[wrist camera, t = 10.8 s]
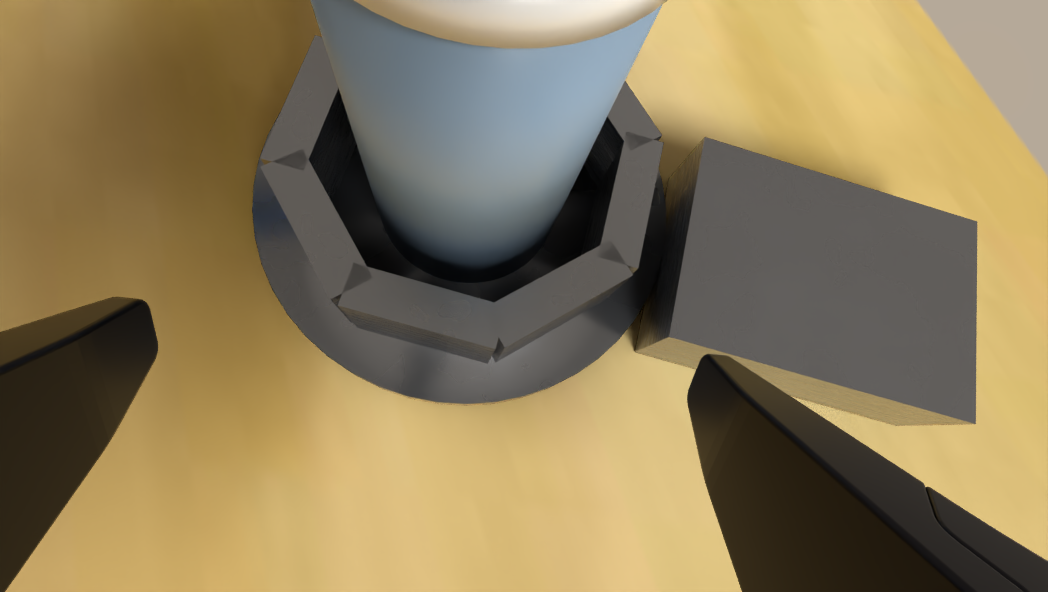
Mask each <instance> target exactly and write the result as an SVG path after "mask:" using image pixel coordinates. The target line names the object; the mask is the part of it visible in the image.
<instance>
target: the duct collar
mask: <svg viewBox="0 0 1048 592" xmlns="http://www.w3.org/2000/svg"><path fill="white" fill-rule="evenodd" d="M661 136H662V135H661V133H660V132H659V130H658V129H657V127H656V126H655V124H654V123H653V121H652V120H651V118H650V117H649V115H648V114H647V112H646V111H645V109H644V108H643V107H642V105H641V104H640V102H639V101H638V99H637V98H636V96H635V95H634V93H633V92H632V90H631V89H630V87H629V86H628V84H627V83H626V81H624V83H623V85H622V88H621V90H620V92H619V94H618V96H617V98H616V100H615V102H614V104H613V106H612V108H611V110H610V112H609V114H608V116H607V118H606V120H605V122H604V124H603V126H602V128H601V130H600V132H599V134H598V136H597V138H596V140H595V142H594V144H593V146H592V148H591V150H590V152H589V154H588V156H587V158H586V160H585V162H584V165H583V167H582V169H581V171H580V173H579V175H578V177H577V179H576V181H575V183H574V185H573V187H572V189H571V191H570V193H569V195H568V197H567V199H566V201H565V203H564V205H563V207H562V209H561V211H560V213H559V215H558V217H557V219H556V221H555V223H554V225H553V227H552V229H551V231H550V233H549V235H548V237H547V240H546V241H545V243H544V244H543V246H542V248H541V249H540V250H539V251H538V253H537V254H536V255H535V256H534V257H533V258H532V259H531V260H530V261H529V262H528V263H527V264H526V265H524V266H523V267H521V268H520V269H518V270H517V271H515V272H513V273H511V274H509V275H507V276H505V277H502V278H499V279H496V280H492V281H487V282H481V283H458V282H452V281H447V280H444V279H440V278H437V277H434V276H432V275H430V274H428V273H425V272H424V271H422V270H420V269H419V268H417V267H415V266H414V265H413V264H411V263H410V262H409V261H408V260H407V259H405V258H404V257H403V256H402V255H401V254H400V252H399V251H398V250H397V249H396V248H395V246H394V245H393V244H392V242H391V241H390V239H389V237H388V235H387V233H386V231H385V229H384V226H383V224H382V221H381V218H380V215H379V212H378V209H377V206H376V202H375V199H374V196H373V193H372V190H371V187H370V184H369V181H368V178H367V175H366V171H365V168H364V165H363V162H362V159H361V156H360V153H359V150H358V147H357V144H356V140H355V137H354V134H353V131H352V128H351V125H350V122H349V119H348V116H347V113H346V109H345V106H344V103H343V100H342V97H341V94H340V91H339V88H338V85H337V82H336V78H335V75H334V72H333V69H332V66H331V63H330V60H329V57H328V54H327V51H326V47H325V44H324V41H323V38H322V37H319V36H316V35H315V37H314V39H313V41H312V43H311V46H310V48H309V50H308V52H307V54H306V57H305V59H304V61H303V63H302V66H301V68H300V70H299V72H298V74H297V77H296V79H295V81H294V83H293V86H292V88H291V90H290V92H289V94H288V97H287V99H286V101H285V103H284V106H283V108H282V110H281V112H280V114H279V116H278V117H277V119H276V121H275V123H274V125H273V127H272V129H271V130H270V132H269V134H268V136H267V139H266V142H265V144H264V147H263V150H262V152H261V155H260V158H259V162H258V166H257V171H256V176H255V181H254V189H253V207H252V213H253V223H254V233H255V240H256V244H257V248H258V252H259V256H260V260H261V264H262V266H263V268H264V271H265V273H266V276H267V278H268V280H269V283H270V285H271V287H272V290H273V291H274V293H275V295H276V296H277V298H278V300H279V301H280V303H281V305H282V306H283V308H284V310H285V311H286V313H287V314H288V316H289V317H290V318H291V319H292V320H293V322H294V323H295V324H296V325H297V326H298V328H299V329H300V330H301V331H302V332H303V334H304V335H305V336H306V337H307V338H308V339H309V340H310V341H311V342H313V343H314V344H315V345H316V346H317V347H318V348H319V349H320V350H321V351H322V352H323V353H325V354H326V355H327V356H328V357H330V358H331V359H332V360H334V361H335V362H337V363H338V364H340V365H341V366H343V367H344V368H346V369H347V370H349V371H350V372H351V373H353V374H355V375H356V376H358V377H360V378H362V379H364V380H366V381H368V382H370V383H372V384H374V385H376V386H378V387H380V388H382V389H384V390H387V391H390V392H393V393H396V394H399V395H402V396H405V397H408V398H412V399H417V400H422V401H427V402H432V403H437V404H451V405H479V404H494V403H499V402H503V401H508V400H513V399H518V398H522V397H525V396H528V395H531V394H533V393H536V392H539V391H542V390H545V389H547V388H549V387H552V386H554V385H555V384H557V383H559V382H561V381H563V380H565V379H567V378H569V377H571V376H573V375H575V374H577V373H578V372H580V371H581V370H583V369H584V368H585V367H587V366H588V365H590V364H591V363H593V362H594V361H595V360H597V359H598V358H600V357H601V356H602V355H603V354H604V353H605V352H606V351H607V350H608V349H609V348H610V347H611V346H612V345H613V344H615V343H616V342H617V341H618V340H619V339H620V337H621V336H622V335H623V334H624V332H625V331H626V330H627V329H628V327H629V326H630V325H631V324H632V322H633V321H634V320H635V318H636V317H637V315H638V313H639V312H640V310H641V308H642V307H643V305H644V309H643V314H642V319H641V324H640V329H639V334H638V339H637V344H636V349H635V352H636V353H640V354H643V355H647V356H651V357H654V358H658V359H661V360H665V361H668V362H672V363H675V364H679V365H683V366H686V367H690V368H693V369H697V366H698V364H699V361H700V359H701V358H702V357H703V356H704V355H706V354H717V355H726V356H729V357H731V358H733V359H734V360H736V361H737V362H739V363H740V364H742V365H743V366H745V367H746V368H748V369H749V370H751V371H752V372H754V373H756V374H757V375H759V376H760V377H762V378H763V379H765V380H766V381H768V382H769V383H771V384H772V385H774V386H775V387H777V388H779V389H780V390H782V391H783V392H785V393H786V394H788V395H789V396H793V397H796V398H800V399H803V400H807V401H811V402H814V403H818V404H821V405H825V406H828V407H832V408H835V409H839V410H843V411H846V412H850V413H853V414H857V415H860V416H864V417H867V418H871V419H875V420H878V421H882V422H885V423H889V424H892V425H896V426H905V425H956V424H976V312H977V221H973V220H970V219H967V218H964V217H961V216H957V215H954V214H951V213H948V212H944V211H941V210H938V209H935V208H932V207H928V206H925V205H922V204H919V203H916V202H912V201H909V200H906V199H903V198H899V197H896V196H893V195H890V194H887V193H883V192H880V191H877V190H874V189H870V188H867V187H864V186H861V185H858V184H854V183H851V182H848V181H845V180H842V179H838V178H835V177H832V176H829V175H825V174H822V173H819V172H816V171H813V170H809V169H806V168H803V167H800V166H796V165H793V164H790V163H787V162H784V161H780V160H777V159H774V158H771V157H768V156H764V155H761V154H758V153H755V152H751V151H748V150H745V149H742V148H739V147H735V146H732V145H729V144H726V143H722V142H719V141H716V140H713V139H710V138H706V137H704V138H703V140H702V141H701V142H700V143H699V144H698V145H697V147H696V148H695V149H694V150H693V151H692V152H691V154H690V155H689V156H688V157H687V158H686V159H685V161H684V162H683V163H682V164H681V165H680V166H679V168H678V169H677V170H676V171H675V172H674V173H673V175H672V176H671V177H670V178H669V181H668V186H667V191H666V196H665V197H664V190H663V184H662V179H661V176H660V172H659V169H658V168H659V163H660V159H661V154H662V149H663V144H664V143H663V142H660V141H658V140H659V139H660V138H661Z"/></svg>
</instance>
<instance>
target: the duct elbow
mask: <svg viewBox="0 0 1048 592" xmlns="http://www.w3.org/2000/svg"><path fill="white" fill-rule="evenodd" d="M310 1H311V4H312V7H313V10H314V13H315V16H316V20H317V23H318V26H319V29H320V32H321V35H322V38H323V41H324V44H325V47H326V51H327V54H328V57H329V60H330V63H331V66H332V69H333V72H334V75H335V78H336V82H337V85H338V88H339V91H340V94H341V97H342V100H343V103H344V106H345V109H346V113H347V116H348V119H349V122H350V125H351V128H352V131H353V134H354V137H355V140H356V144H357V147H358V150H359V153H360V156H361V159H362V162H363V165H364V168H365V171H366V175H367V178H368V181H369V184H370V187H371V190H372V193H373V196H374V199H375V202H376V206H377V209H378V212H379V215H380V218H381V221H382V224H383V226H384V229H385V231H386V233H387V235H388V237H389V239H390V241H391V242H392V244H393V245H394V246H395V248H396V249H397V250H398V251H399V252H400V254H401V255H402V256H403V257H404V258H405V259H407V260H408V261H409V262H410V263H411V264H413V265H414V266H415V267H417V268H419V269H420V270H422V271H424V272H425V273H428V274H430V275H432V276H434V277H437V278H440V279H444V280H447V281H452V282H458V283H481V282H487V281H492V280H496V279H499V278H502V277H505V276H507V275H509V274H511V273H513V272H515V271H517V270H518V269H520V268H521V267H523V266H524V265H526V264H527V263H528V262H529V261H530V260H531V259H532V258H533V257H534V256H535V255H536V254H537V253H538V251H539V250H540V249H541V248H542V246H543V244H544V243H545V241H546V240H547V237H548V235H549V233H550V231H551V229H552V227H553V225H554V223H555V221H556V219H557V217H558V215H559V213H560V211H561V209H562V207H563V205H564V203H565V201H566V199H567V197H568V195H569V193H570V191H571V189H572V187H573V185H574V183H575V181H576V179H577V177H578V175H579V173H580V171H581V169H582V167H583V165H584V162H585V160H586V158H587V156H588V154H589V152H590V150H591V148H592V146H593V144H594V142H595V140H596V138H597V136H598V134H599V132H600V130H601V128H602V126H603V124H604V122H605V120H606V118H607V116H608V114H609V112H610V110H611V108H612V106H613V104H614V102H615V100H616V98H617V96H618V94H619V92H620V90H621V88H622V85H623V83H624V81H625V79H626V77H627V75H628V73H629V71H630V69H631V67H632V65H633V63H634V61H635V59H636V57H637V55H638V53H639V51H640V49H641V47H642V45H643V43H644V41H645V39H646V37H647V35H648V33H649V31H650V29H651V27H652V25H653V23H654V21H655V19H656V17H657V15H658V13H659V10H660V8H661V6H662V4H663V3H665V2H666V1H667V0H310Z"/></svg>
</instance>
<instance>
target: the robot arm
mask: <svg viewBox="0 0 1048 592" xmlns="http://www.w3.org/2000/svg"><path fill="white" fill-rule="evenodd" d="M157 352H158V341H157V337H156V333H155V328H154V324H153V320H152V316H151V311H150V308H149V306H148V304H147V303H146V302H145V301H143V300H141V299H134V298H124V297H112V298H108V299H105V300H102V301H98V302H95V303H92V304H89V305H85V306H82V307H79V308H76V309H73V310H69V311H66V312H63V313H60V314H57V315H53V316H50V317H47V318H44V319H41V320H37V321H34V322H31V323H28V324H25V325H21V326H18V327H15V328H12V329H9V330H5V331H2V332H0V592H5V591H6V590H7V588H8V587H9V586H10V584H11V583H12V581H13V580H14V578H15V577H16V576H17V574H18V573H19V571H20V570H21V568H22V567H23V566H24V564H25V563H26V561H27V560H28V558H29V557H30V556H31V554H32V553H33V551H34V550H35V548H36V547H37V546H38V544H39V543H40V541H41V540H42V538H43V537H44V536H45V534H46V533H47V531H48V530H49V528H50V527H51V526H52V524H53V523H54V521H55V520H56V519H57V517H58V516H59V514H60V513H61V511H62V510H63V509H64V507H65V506H66V504H67V503H68V501H69V500H70V499H71V497H72V496H73V494H74V493H75V491H76V490H77V489H78V487H79V486H80V484H81V483H82V481H83V480H84V479H85V477H86V476H87V474H88V473H89V471H90V470H91V469H92V467H93V466H94V464H95V463H96V461H97V460H98V459H99V457H100V456H101V454H102V453H103V451H104V450H105V448H106V447H107V445H108V444H109V442H110V440H111V439H112V437H113V435H114V434H115V432H116V430H117V429H118V427H119V425H120V423H121V421H122V420H123V418H124V416H125V414H126V412H127V410H128V409H129V407H130V405H131V403H132V401H133V399H134V398H135V396H136V394H137V392H138V390H139V388H140V387H141V385H142V383H143V381H144V379H145V377H146V376H147V374H148V372H149V370H150V368H151V366H152V365H153V363H154V361H155V359H156V356H157ZM687 403H688V408H689V413H690V417H691V422H692V426H693V431H694V436H695V440H696V445H697V449H698V454H699V458H700V463H701V468H702V472H703V476H704V479H705V483H706V486H707V489H708V493H709V496H710V499H711V502H712V505H713V508H714V511H715V513H716V516H717V519H718V522H719V525H720V528H721V531H722V534H723V537H724V540H725V543H726V546H727V549H728V552H729V555H730V558H731V561H732V564H733V566H734V569H735V572H736V575H737V578H738V581H739V584H740V587H741V590H742V592H1048V561H1047V560H1045V559H1044V558H1042V557H1040V556H1039V555H1037V554H1035V553H1034V552H1032V551H1030V550H1029V549H1027V548H1025V547H1024V546H1022V545H1020V544H1019V543H1017V542H1015V541H1014V540H1012V539H1011V538H1009V537H1007V536H1006V535H1004V534H1002V533H1001V532H999V531H997V530H996V529H994V528H993V527H991V526H989V525H988V524H986V523H985V522H983V521H982V520H980V519H978V518H977V517H975V516H974V515H972V514H971V513H969V512H967V511H966V510H964V509H963V508H961V507H960V506H958V505H956V504H955V503H953V502H952V501H950V500H949V499H947V498H946V497H944V496H943V495H941V494H940V493H938V492H937V491H935V490H934V489H932V488H930V487H925V485H924V483H923V482H921V481H919V480H918V479H916V478H915V477H913V476H912V475H910V474H909V473H907V472H906V471H904V470H903V469H901V468H900V467H898V466H896V465H895V464H893V463H892V462H890V461H889V460H887V459H886V458H884V457H883V456H881V455H880V454H878V453H877V452H875V451H873V450H872V449H870V448H869V447H867V446H866V445H864V444H863V443H861V442H860V441H858V440H857V439H855V438H854V437H852V436H851V435H849V434H847V433H846V432H844V431H843V430H841V429H840V428H838V427H837V426H835V425H834V424H832V423H831V422H829V421H828V420H826V419H824V418H823V417H821V416H820V415H818V414H817V413H815V412H814V411H812V410H811V409H809V408H808V407H806V406H805V405H803V404H801V403H800V402H798V401H797V400H795V399H794V398H792V397H791V396H789V395H788V394H786V393H785V392H783V391H782V390H780V389H779V388H777V387H775V386H774V385H772V384H771V383H769V382H768V381H766V380H765V379H763V378H762V377H760V376H759V375H757V374H756V373H754V372H752V371H751V370H749V369H748V368H746V367H745V366H743V365H742V364H740V363H739V362H737V361H736V360H734V359H733V358H731V357H729V356H726V355H717V354H706V355H704V356H703V357H702V358H701V359H700V361H699V364H698V366H697V369H696V372H695V374H694V377H693V379H692V382H691V385H690V387H689V390H688V395H687Z"/></svg>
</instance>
